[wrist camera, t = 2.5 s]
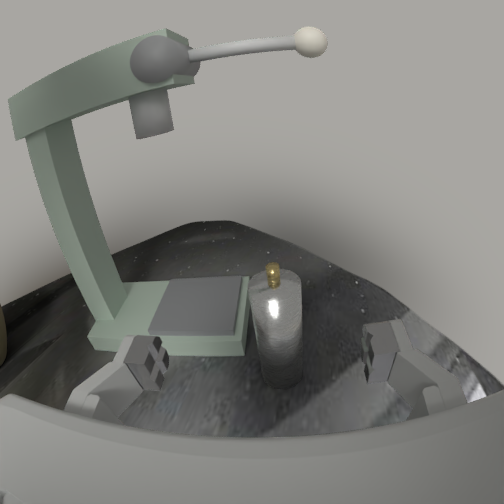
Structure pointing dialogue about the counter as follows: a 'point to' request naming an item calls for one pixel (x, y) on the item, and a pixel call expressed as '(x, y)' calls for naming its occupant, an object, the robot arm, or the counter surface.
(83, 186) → the press
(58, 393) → the counter surface
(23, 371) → the counter surface
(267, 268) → the housing
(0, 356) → the beige bowl
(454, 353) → the counter surface
